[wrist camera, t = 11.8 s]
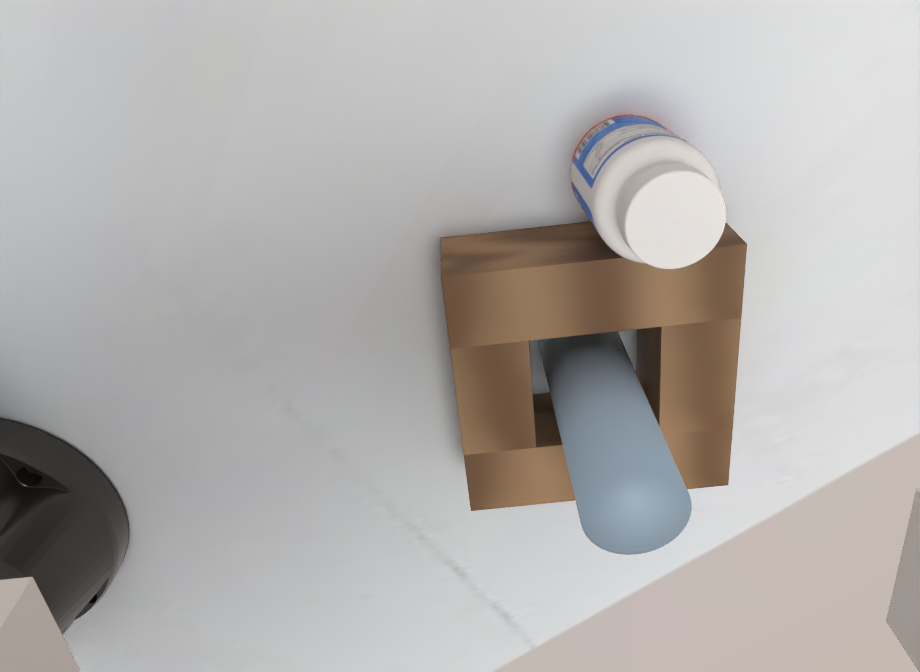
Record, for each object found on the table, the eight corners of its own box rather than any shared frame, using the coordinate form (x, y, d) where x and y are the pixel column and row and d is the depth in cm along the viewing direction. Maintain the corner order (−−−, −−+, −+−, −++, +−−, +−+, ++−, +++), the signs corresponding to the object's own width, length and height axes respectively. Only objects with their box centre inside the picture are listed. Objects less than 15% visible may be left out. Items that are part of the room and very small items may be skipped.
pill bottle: (671, 216, 40) (736, 287, 31) (567, 221, 40) (603, 293, 31) (680, 108, 37) (753, 151, 28) (569, 113, 37) (609, 157, 28)
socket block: (467, 454, 46) (470, 510, 42) (440, 238, 39) (441, 277, 35) (699, 431, 46) (728, 485, 41) (711, 208, 39) (746, 244, 35)
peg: (541, 380, 44) (582, 559, 31) (537, 312, 42) (578, 475, 29) (618, 372, 44) (689, 549, 31) (618, 303, 41) (693, 464, 29)
